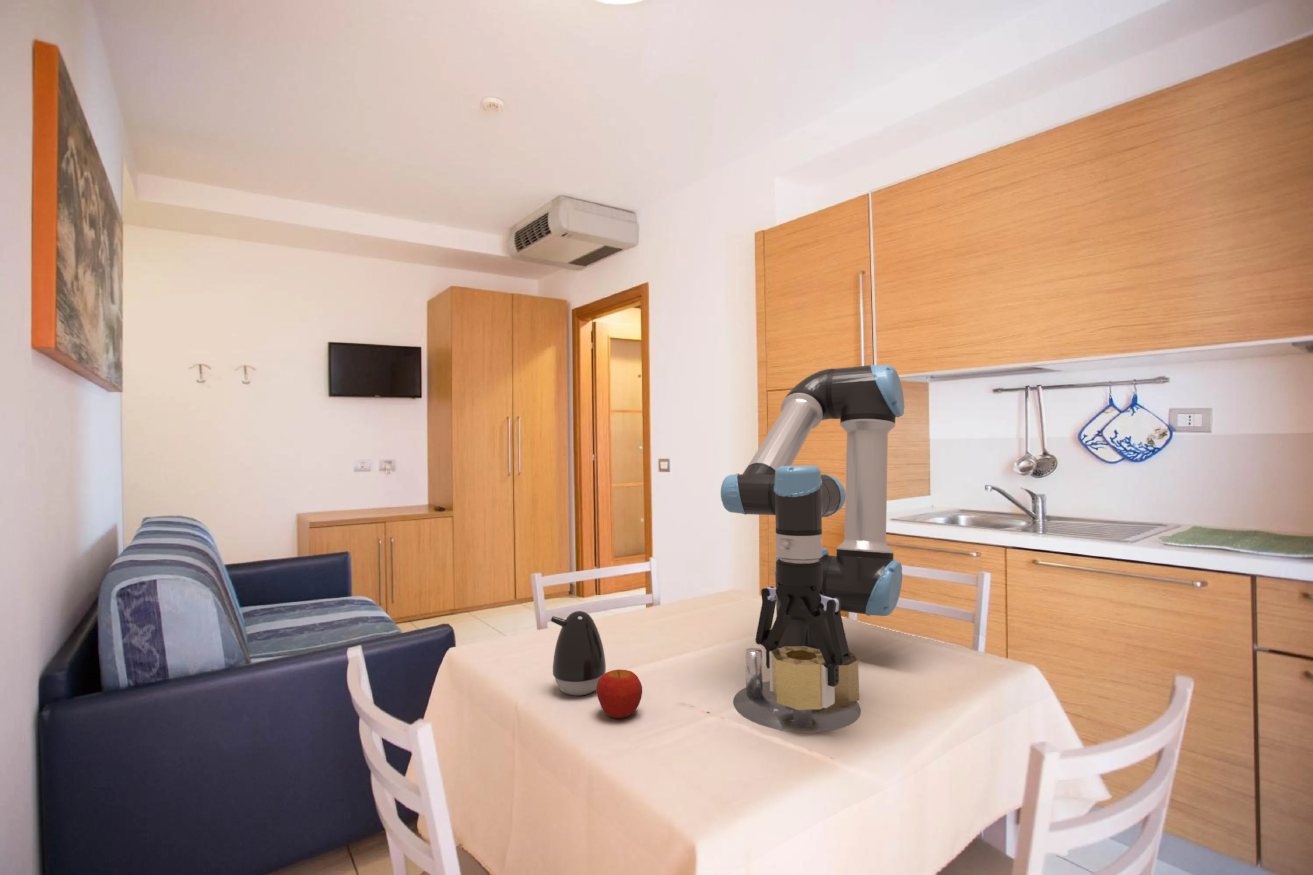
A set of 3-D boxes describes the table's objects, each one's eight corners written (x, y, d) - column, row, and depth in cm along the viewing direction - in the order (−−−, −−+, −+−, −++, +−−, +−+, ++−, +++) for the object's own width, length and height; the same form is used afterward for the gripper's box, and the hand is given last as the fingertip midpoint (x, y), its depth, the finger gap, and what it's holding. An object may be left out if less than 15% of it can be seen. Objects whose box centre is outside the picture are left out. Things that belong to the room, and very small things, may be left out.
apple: (637, 726, 103) (636, 679, 104) (591, 723, 105) (591, 676, 105) (645, 707, 111) (645, 663, 111) (603, 704, 112) (602, 661, 113)
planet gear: (763, 698, 102) (762, 655, 102) (793, 683, 108) (792, 642, 108) (811, 714, 95) (810, 668, 95) (840, 697, 102) (839, 654, 102)
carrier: (707, 709, 109) (707, 659, 110) (778, 675, 125) (777, 632, 125) (818, 751, 94) (817, 692, 94) (883, 706, 109) (882, 656, 110)
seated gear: (796, 695, 113) (795, 657, 113) (821, 682, 119) (820, 645, 119) (841, 710, 106) (840, 669, 107) (865, 694, 113) (865, 656, 113)
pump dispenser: (554, 681, 124) (553, 605, 124) (606, 679, 125) (604, 603, 125) (549, 702, 114) (548, 619, 114) (606, 699, 115) (605, 617, 115)
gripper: (732, 554, 107) (734, 685, 106) (849, 570, 92) (852, 723, 91) (758, 549, 112) (760, 674, 112) (872, 563, 97) (875, 708, 96)
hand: (801, 696), depth 101 cm, fingers closed on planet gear, 9 cm apart
